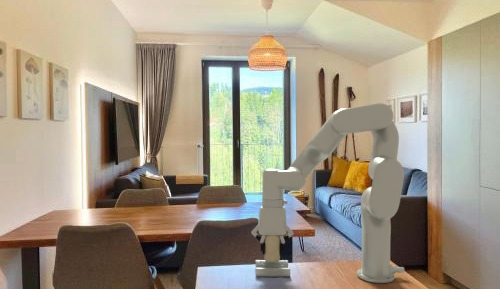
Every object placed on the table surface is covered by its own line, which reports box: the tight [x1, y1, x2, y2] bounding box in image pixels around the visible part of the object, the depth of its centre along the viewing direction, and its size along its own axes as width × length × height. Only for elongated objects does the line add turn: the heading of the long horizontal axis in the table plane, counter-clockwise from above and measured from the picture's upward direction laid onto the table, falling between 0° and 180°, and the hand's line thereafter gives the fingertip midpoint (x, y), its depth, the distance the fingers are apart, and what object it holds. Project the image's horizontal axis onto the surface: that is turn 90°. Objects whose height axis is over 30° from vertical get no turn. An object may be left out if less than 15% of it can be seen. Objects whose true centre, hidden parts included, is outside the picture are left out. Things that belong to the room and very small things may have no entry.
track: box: [255, 259, 291, 279], centre depth 136 cm, size 12×9×3 cm
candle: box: [263, 235, 281, 262], centre depth 136 cm, size 6×6×10 cm
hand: (272, 253), depth 136 cm, fingers closed on candle, 5 cm apart
